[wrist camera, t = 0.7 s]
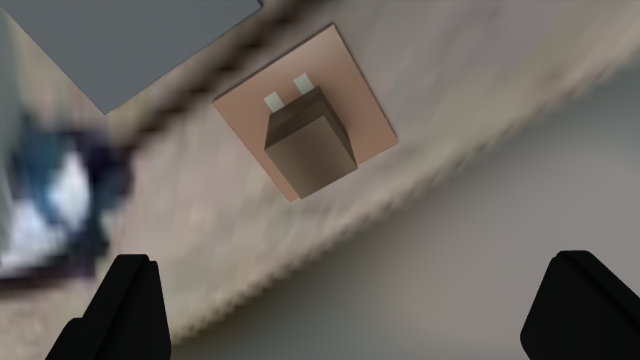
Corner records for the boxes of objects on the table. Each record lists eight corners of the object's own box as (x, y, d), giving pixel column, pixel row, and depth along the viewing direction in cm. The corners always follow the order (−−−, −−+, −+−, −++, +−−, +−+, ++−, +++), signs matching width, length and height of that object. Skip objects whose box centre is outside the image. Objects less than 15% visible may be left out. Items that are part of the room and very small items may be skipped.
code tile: (332, 22, 32) (333, 24, 31) (396, 137, 38) (399, 142, 37) (214, 99, 35) (211, 103, 34) (289, 196, 40) (289, 202, 39)
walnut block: (318, 85, 34) (323, 115, 28) (347, 131, 36) (357, 168, 30) (269, 115, 35) (263, 150, 29) (300, 158, 37) (301, 199, 31)
